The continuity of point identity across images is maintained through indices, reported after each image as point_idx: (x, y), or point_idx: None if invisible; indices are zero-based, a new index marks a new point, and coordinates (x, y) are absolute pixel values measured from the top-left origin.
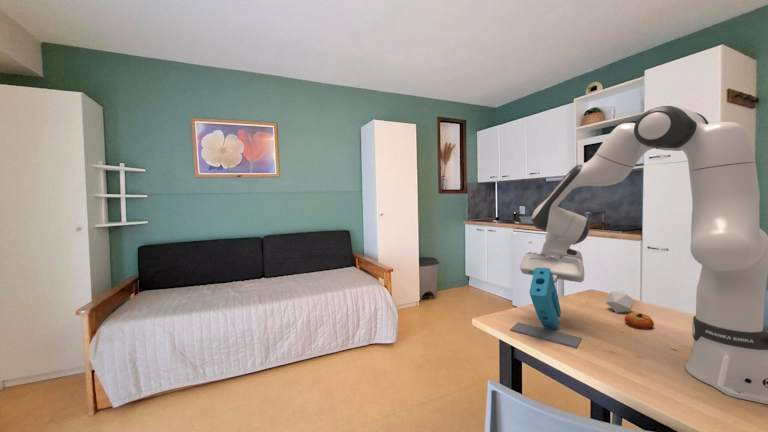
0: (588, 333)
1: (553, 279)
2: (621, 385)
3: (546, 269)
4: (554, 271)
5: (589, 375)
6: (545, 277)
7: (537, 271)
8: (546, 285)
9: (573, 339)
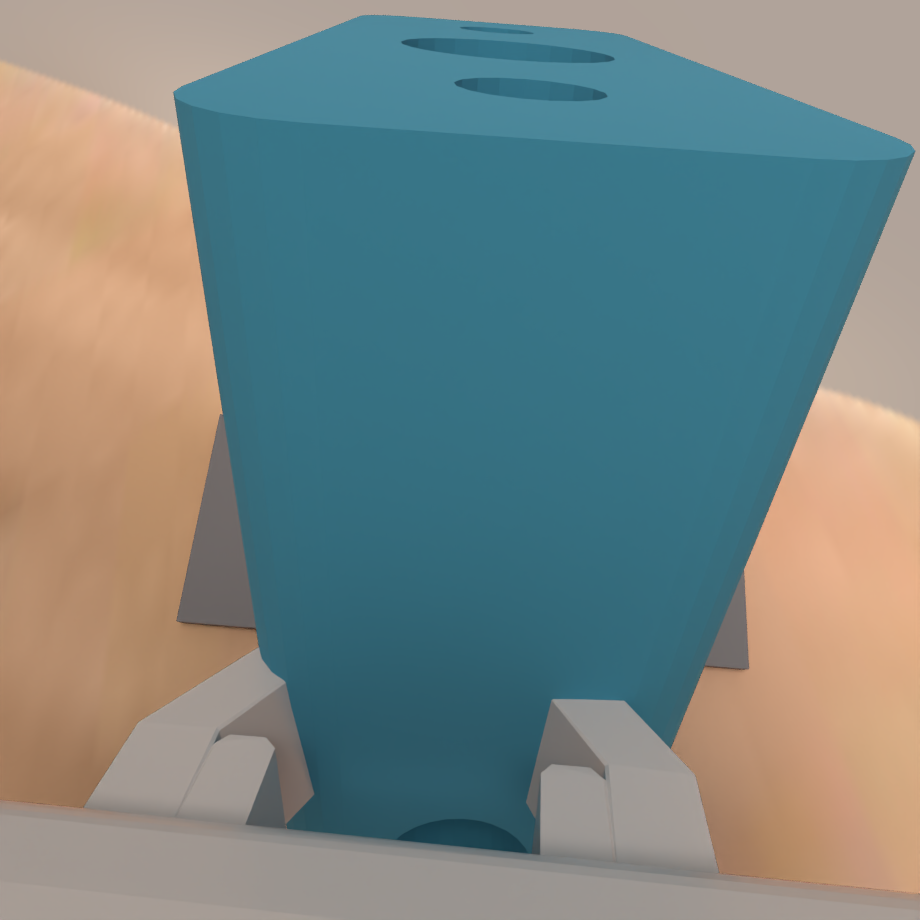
0: None
1: (252, 676)
2: (39, 128)
3: (356, 113)
4: (89, 890)
5: (172, 134)
6: (386, 58)
7: (707, 110)
8: (357, 27)
9: (240, 540)
